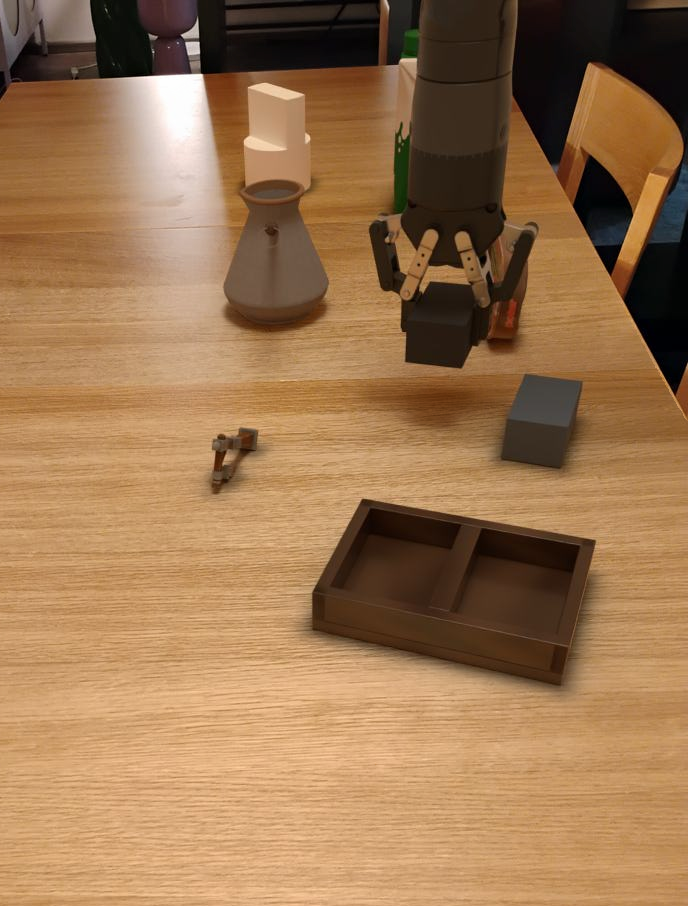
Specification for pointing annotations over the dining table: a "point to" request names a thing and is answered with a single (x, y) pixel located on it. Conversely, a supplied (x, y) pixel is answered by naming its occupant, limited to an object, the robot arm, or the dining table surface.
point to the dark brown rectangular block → (441, 326)
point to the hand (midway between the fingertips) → (444, 338)
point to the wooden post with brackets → (223, 443)
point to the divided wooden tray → (456, 588)
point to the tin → (509, 312)
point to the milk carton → (404, 118)
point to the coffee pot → (275, 257)
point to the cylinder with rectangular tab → (276, 136)
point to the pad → (541, 420)
